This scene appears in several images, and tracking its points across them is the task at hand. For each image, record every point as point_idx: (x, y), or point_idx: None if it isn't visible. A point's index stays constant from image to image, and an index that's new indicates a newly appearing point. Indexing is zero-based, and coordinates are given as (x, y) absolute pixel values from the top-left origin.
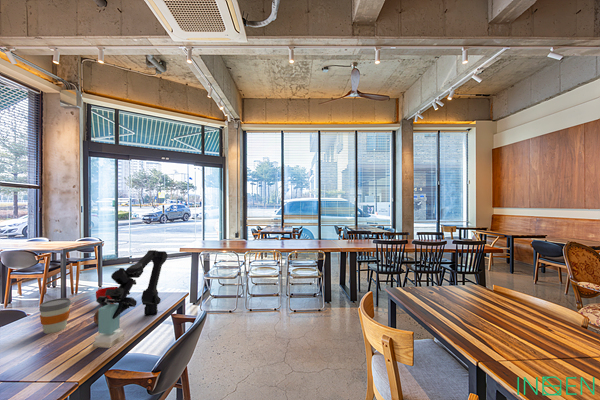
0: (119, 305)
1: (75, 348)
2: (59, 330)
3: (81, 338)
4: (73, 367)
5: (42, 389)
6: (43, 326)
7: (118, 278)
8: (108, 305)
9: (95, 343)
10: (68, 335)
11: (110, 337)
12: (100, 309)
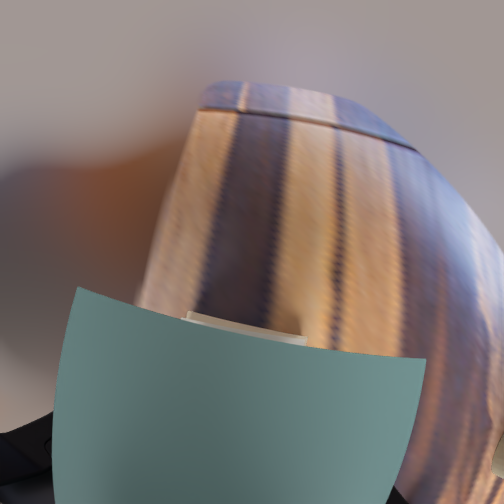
0: (9, 459)
1: (380, 327)
2: (499, 444)
3: None
4: (267, 169)
5: (278, 95)
6: None
7: None
8: None
9: (288, 334)
10: (467, 428)
11: (185, 320)
12: (374, 358)
